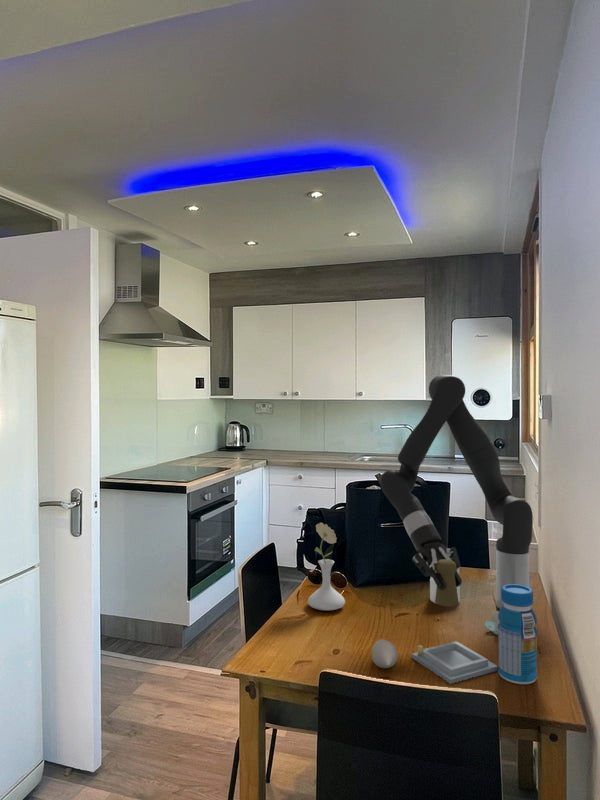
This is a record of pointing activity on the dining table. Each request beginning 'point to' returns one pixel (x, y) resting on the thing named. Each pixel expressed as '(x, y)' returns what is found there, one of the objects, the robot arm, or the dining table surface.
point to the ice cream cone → (384, 654)
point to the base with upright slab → (434, 587)
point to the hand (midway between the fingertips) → (451, 586)
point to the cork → (447, 583)
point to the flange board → (453, 661)
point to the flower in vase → (326, 577)
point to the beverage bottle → (517, 635)
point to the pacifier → (493, 623)
